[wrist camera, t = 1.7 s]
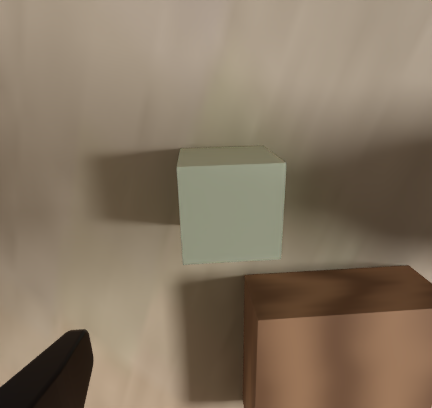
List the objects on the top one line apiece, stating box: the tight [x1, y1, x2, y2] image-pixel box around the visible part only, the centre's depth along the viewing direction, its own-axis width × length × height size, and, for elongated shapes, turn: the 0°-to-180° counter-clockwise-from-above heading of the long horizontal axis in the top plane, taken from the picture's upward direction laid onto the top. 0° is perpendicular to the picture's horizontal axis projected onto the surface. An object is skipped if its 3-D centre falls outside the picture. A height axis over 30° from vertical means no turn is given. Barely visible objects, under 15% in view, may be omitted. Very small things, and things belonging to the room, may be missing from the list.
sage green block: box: [177, 146, 286, 265], centre depth 17 cm, size 5×5×5 cm
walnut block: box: [243, 265, 432, 408], centre depth 22 cm, size 12×12×5 cm
